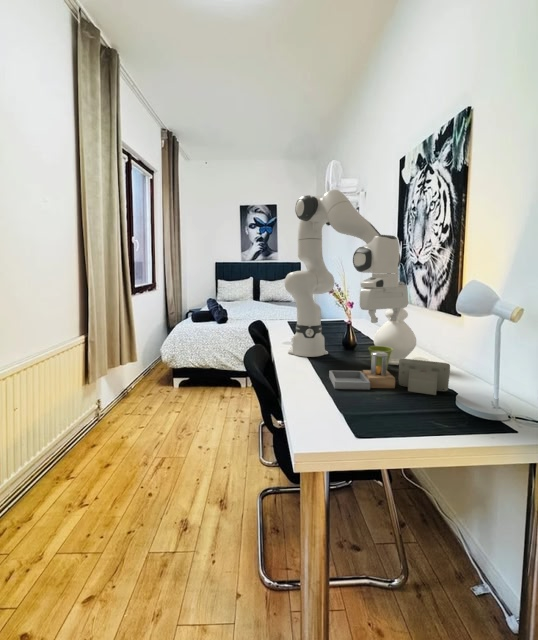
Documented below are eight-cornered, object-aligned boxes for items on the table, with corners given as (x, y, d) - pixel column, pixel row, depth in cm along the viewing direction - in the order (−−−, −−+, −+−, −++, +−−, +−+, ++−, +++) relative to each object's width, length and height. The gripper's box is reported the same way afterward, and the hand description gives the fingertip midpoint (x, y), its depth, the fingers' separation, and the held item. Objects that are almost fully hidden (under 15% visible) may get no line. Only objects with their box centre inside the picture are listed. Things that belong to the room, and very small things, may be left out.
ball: (373, 372, 138) (373, 364, 137) (381, 372, 138) (381, 364, 137) (375, 375, 135) (375, 366, 134) (383, 375, 135) (384, 367, 134)
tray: (329, 376, 144) (329, 370, 144) (361, 377, 144) (361, 371, 144) (334, 388, 130) (334, 381, 130) (369, 389, 130) (370, 382, 130)
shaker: (378, 371, 140) (379, 350, 139) (389, 375, 135) (391, 354, 134) (366, 373, 137) (368, 352, 136) (378, 377, 133) (379, 355, 131)
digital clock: (450, 391, 129) (452, 361, 128) (444, 399, 122) (447, 366, 121) (401, 382, 139) (403, 353, 137) (393, 388, 131) (395, 358, 130)
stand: (362, 379, 142) (362, 369, 141) (386, 379, 142) (387, 370, 141) (368, 387, 132) (369, 377, 131) (394, 388, 132) (395, 378, 131)
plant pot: (392, 373, 150) (393, 351, 149) (367, 371, 152) (369, 350, 151) (390, 367, 159) (391, 346, 158) (366, 365, 161) (367, 345, 160)
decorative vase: (376, 354, 181) (379, 302, 177) (416, 358, 173) (420, 304, 170) (369, 363, 165) (372, 305, 161) (413, 368, 158) (417, 308, 154)
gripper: (398, 281, 140) (397, 318, 142) (356, 282, 130) (356, 322, 132) (413, 281, 135) (411, 320, 136) (370, 282, 124) (369, 324, 126)
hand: (384, 321), depth 134 cm, fingers open, 8 cm apart
